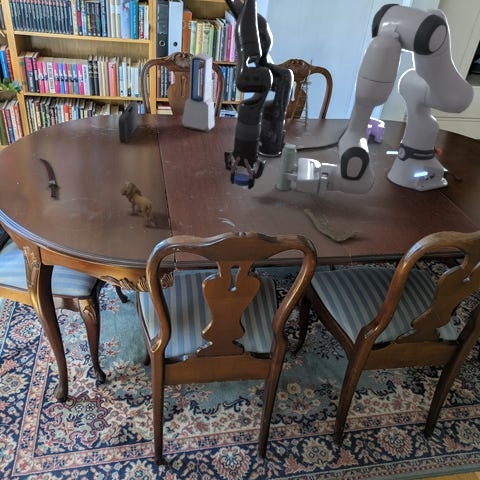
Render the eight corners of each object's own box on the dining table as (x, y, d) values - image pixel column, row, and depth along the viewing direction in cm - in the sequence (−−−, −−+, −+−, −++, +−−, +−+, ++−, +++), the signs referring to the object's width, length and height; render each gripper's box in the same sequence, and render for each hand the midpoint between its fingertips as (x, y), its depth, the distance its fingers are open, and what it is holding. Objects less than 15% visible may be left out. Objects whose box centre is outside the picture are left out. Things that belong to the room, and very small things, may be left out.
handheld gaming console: (132, 123, 199) (131, 100, 194) (138, 124, 200) (137, 100, 194) (118, 143, 180) (117, 117, 175) (125, 143, 180) (124, 118, 175)
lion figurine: (118, 210, 138) (116, 182, 133) (132, 204, 141) (131, 177, 137) (151, 229, 130) (150, 201, 126) (165, 223, 134) (165, 195, 129)
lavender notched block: (343, 126, 223) (346, 112, 219) (367, 127, 225) (371, 113, 221) (360, 142, 206) (364, 127, 202) (386, 142, 209) (390, 127, 205)
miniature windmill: (306, 131, 212) (318, 62, 195) (287, 128, 213) (298, 59, 196) (307, 125, 219) (319, 58, 203) (289, 122, 220) (300, 55, 204)
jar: (276, 183, 163) (283, 142, 155) (289, 185, 163) (297, 144, 155) (276, 189, 159) (283, 147, 151) (289, 191, 159) (297, 149, 151)
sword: (61, 197, 141) (61, 193, 140) (50, 198, 139) (50, 194, 139) (49, 160, 164) (48, 156, 163) (39, 160, 163) (39, 157, 162)
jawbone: (347, 249, 132) (348, 244, 131) (288, 222, 142) (289, 217, 141) (362, 236, 138) (364, 230, 136) (304, 210, 148) (305, 205, 147)
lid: (241, 187, 146) (241, 182, 145) (230, 180, 149) (230, 175, 148) (253, 183, 149) (254, 178, 148) (242, 177, 153) (243, 172, 152)
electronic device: (214, 128, 204) (219, 56, 188) (208, 133, 198) (212, 59, 182) (188, 122, 207) (190, 51, 191) (181, 127, 201) (183, 54, 185)
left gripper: (220, 133, 140) (216, 183, 150) (263, 144, 136) (257, 196, 145) (232, 126, 146) (227, 175, 155) (273, 137, 142) (266, 187, 151)
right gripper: (325, 156, 164) (286, 150, 165) (326, 180, 147) (283, 174, 148) (321, 172, 168) (283, 167, 168) (322, 198, 150) (280, 192, 151)
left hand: (241, 185), depth 150 cm, fingers closed on lid, 5 cm apart
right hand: (283, 170), depth 158 cm, fingers closed on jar, 5 cm apart
